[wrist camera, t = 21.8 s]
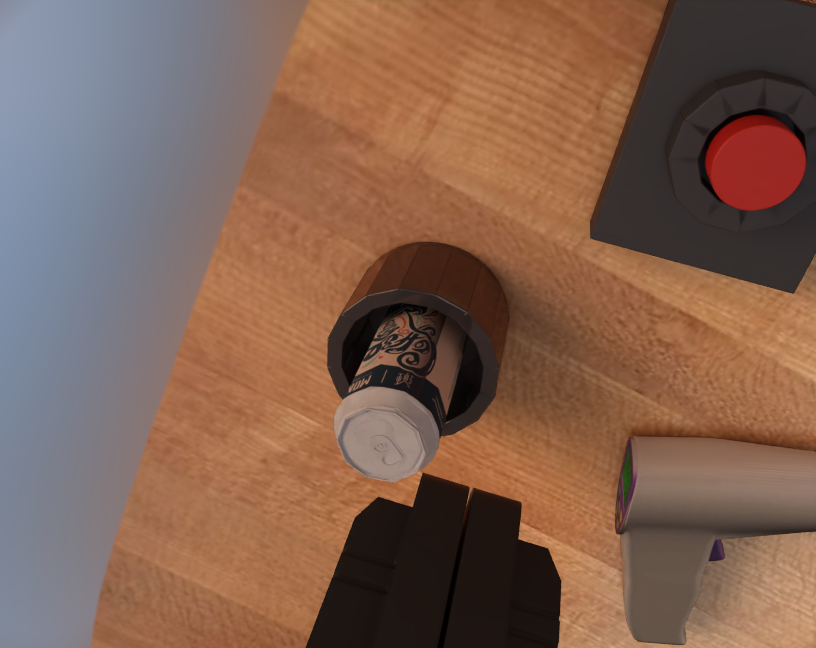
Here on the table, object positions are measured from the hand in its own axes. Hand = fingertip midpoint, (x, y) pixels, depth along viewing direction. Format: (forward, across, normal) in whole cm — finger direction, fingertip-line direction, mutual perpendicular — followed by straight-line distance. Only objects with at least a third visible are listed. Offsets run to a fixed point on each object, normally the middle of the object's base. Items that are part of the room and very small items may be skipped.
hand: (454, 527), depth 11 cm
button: (+25, -9, 0) cm, 27 cm away
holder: (+29, +3, +13) cm, 32 cm away
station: (+29, -9, 0) cm, 30 cm away
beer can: (+29, +3, +13) cm, 32 cm away
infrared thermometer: (+29, -18, +22) cm, 41 cm away
